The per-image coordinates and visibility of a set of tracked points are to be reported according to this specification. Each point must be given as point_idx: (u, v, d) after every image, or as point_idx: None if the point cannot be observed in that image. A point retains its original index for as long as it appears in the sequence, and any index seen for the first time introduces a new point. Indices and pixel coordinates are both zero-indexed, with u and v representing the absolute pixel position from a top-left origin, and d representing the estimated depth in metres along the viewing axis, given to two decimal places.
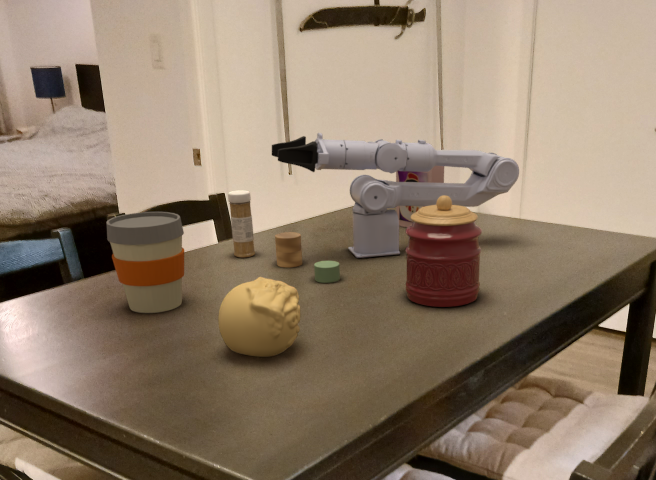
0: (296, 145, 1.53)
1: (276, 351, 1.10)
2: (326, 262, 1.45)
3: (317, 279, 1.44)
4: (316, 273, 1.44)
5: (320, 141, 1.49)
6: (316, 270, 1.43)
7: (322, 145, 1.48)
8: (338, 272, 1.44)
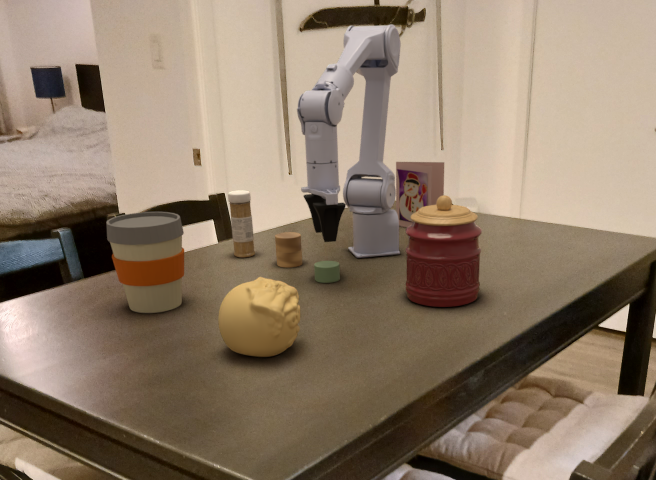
0: (314, 206, 1.43)
1: (276, 351, 1.10)
2: (326, 262, 1.45)
3: (317, 279, 1.44)
4: (316, 273, 1.44)
5: (311, 192, 1.36)
6: (316, 270, 1.43)
7: (316, 193, 1.35)
8: (338, 272, 1.44)
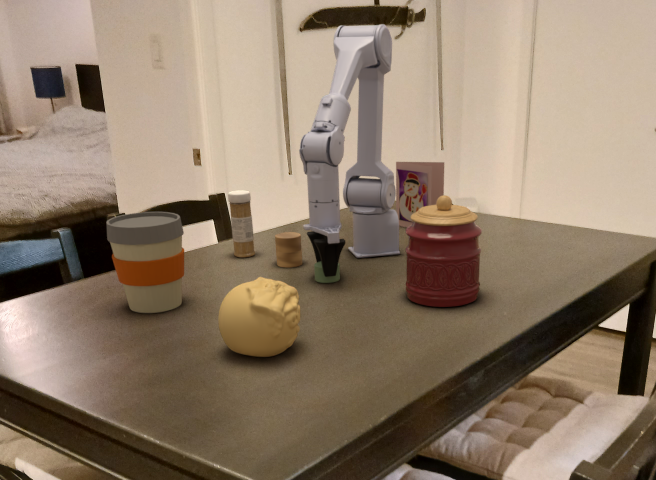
0: None
1: (276, 351, 1.10)
2: None
3: (317, 279, 1.44)
4: (316, 273, 1.44)
5: (313, 230, 1.39)
6: (316, 270, 1.43)
7: (318, 231, 1.38)
8: (338, 272, 1.44)
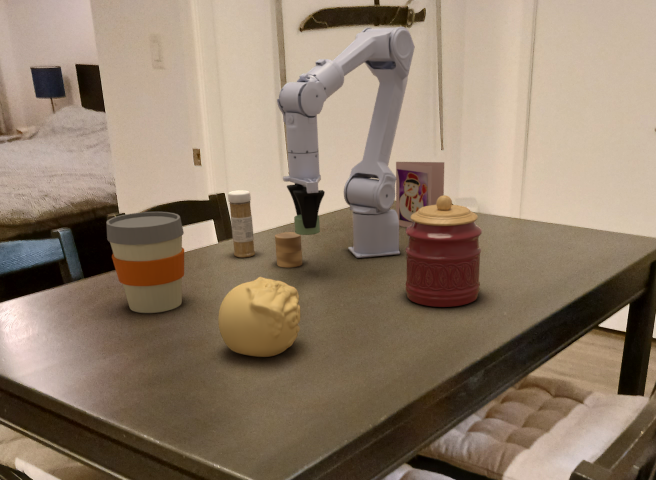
0: None
1: (276, 351, 1.10)
2: None
3: (297, 231, 1.45)
4: (296, 225, 1.45)
5: (292, 181, 1.41)
6: (296, 222, 1.45)
7: (297, 182, 1.39)
8: (318, 224, 1.45)
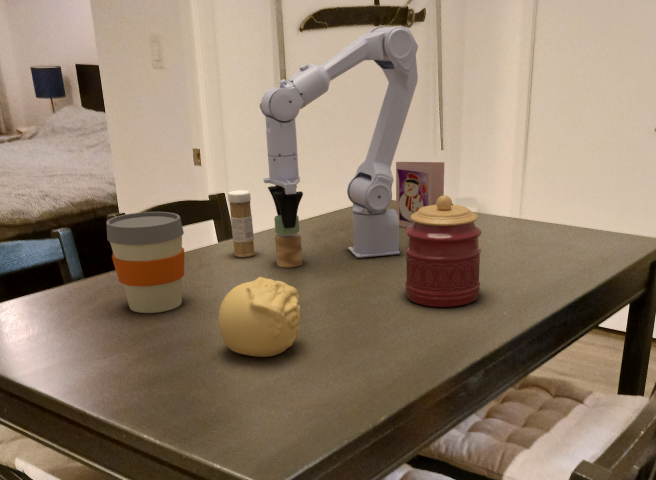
0: None
1: (276, 351, 1.10)
2: None
3: (277, 231, 1.51)
4: (276, 225, 1.51)
5: (272, 182, 1.47)
6: (276, 222, 1.51)
7: (276, 183, 1.45)
8: (297, 224, 1.51)
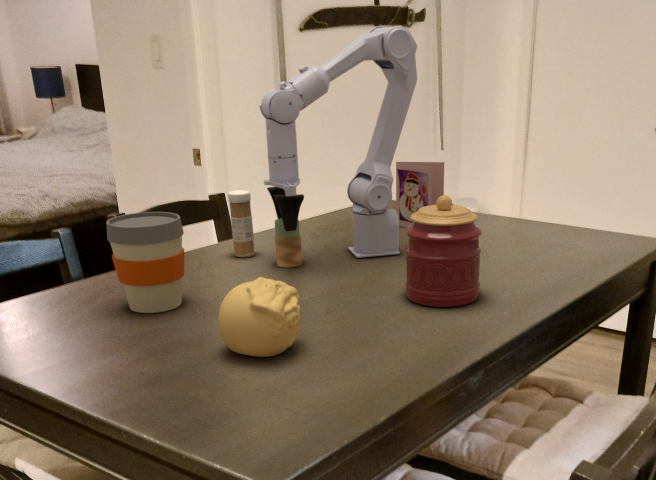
0: None
1: (276, 351, 1.10)
2: None
3: (277, 234, 1.52)
4: (276, 229, 1.51)
5: (272, 184, 1.47)
6: (276, 226, 1.51)
7: (276, 185, 1.46)
8: (297, 228, 1.52)
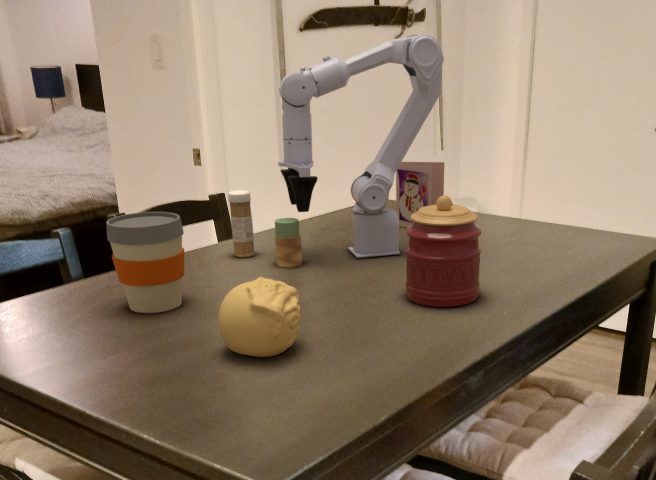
0: (290, 180, 1.57)
1: (276, 351, 1.10)
2: (286, 218, 1.53)
3: (277, 234, 1.52)
4: (276, 229, 1.51)
5: (286, 166, 1.50)
6: (276, 226, 1.51)
7: (291, 166, 1.49)
8: (297, 228, 1.52)
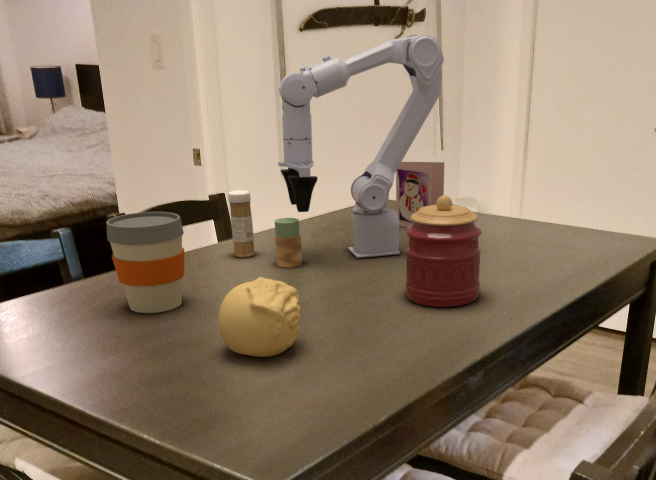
0: (290, 180, 1.57)
1: (276, 351, 1.10)
2: (286, 218, 1.53)
3: (277, 234, 1.52)
4: (276, 229, 1.51)
5: (286, 166, 1.50)
6: (276, 226, 1.51)
7: (291, 166, 1.49)
8: (297, 228, 1.52)
